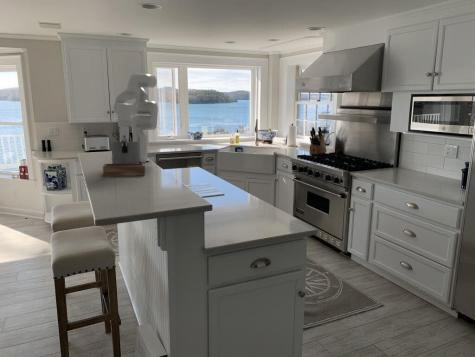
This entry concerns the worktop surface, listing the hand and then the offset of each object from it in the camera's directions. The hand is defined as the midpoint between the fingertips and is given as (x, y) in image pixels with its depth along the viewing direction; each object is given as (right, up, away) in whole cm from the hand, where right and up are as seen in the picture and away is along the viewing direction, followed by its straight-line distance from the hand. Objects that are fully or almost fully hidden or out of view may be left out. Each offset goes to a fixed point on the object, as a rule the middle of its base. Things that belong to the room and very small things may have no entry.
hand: (125, 151), depth 229 cm
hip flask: (0, -11, +3) cm, 12 cm away
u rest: (+3, -14, -10) cm, 17 cm away
